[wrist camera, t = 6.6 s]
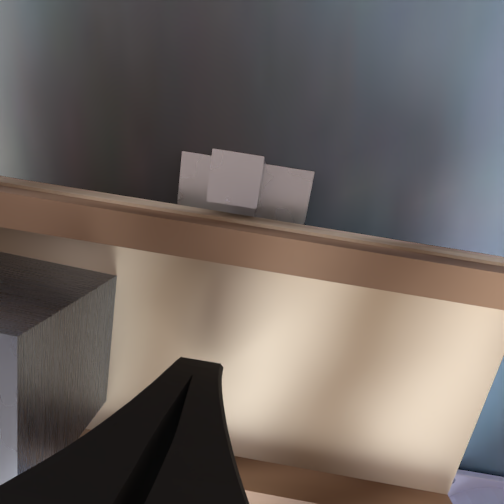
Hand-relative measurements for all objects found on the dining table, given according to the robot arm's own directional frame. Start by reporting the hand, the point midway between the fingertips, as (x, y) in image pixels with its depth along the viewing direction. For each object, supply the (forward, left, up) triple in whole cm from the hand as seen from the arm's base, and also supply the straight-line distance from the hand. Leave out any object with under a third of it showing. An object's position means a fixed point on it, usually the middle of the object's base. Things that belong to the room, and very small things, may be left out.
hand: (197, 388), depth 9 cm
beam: (0, 0, -3) cm, 3 cm away
